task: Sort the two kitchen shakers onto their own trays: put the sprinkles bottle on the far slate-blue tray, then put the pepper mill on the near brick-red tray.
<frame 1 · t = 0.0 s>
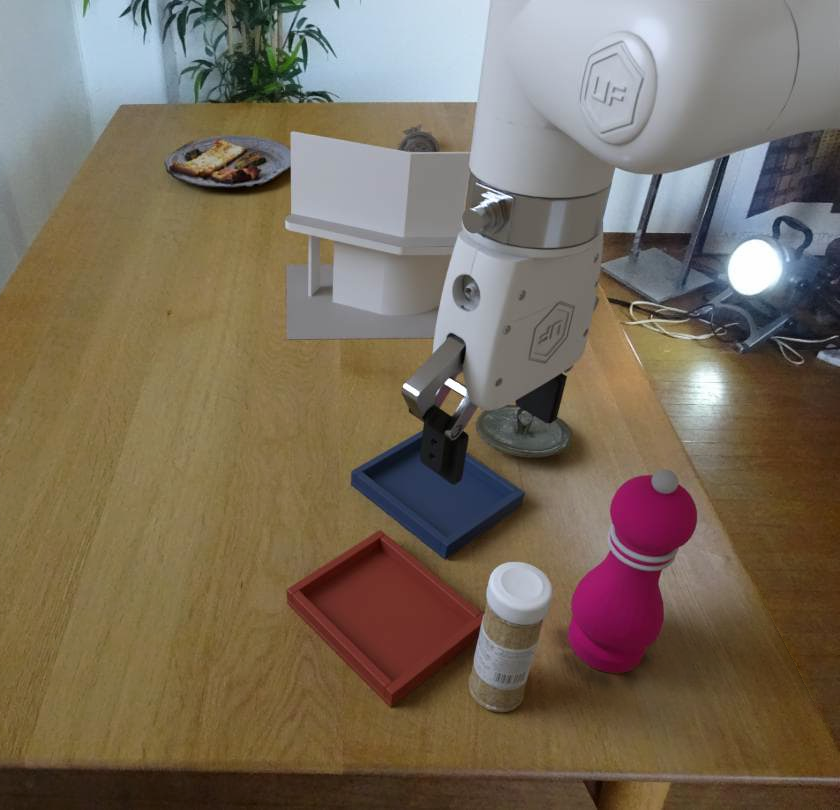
hand: (489, 441, 55), 24 cm above the table, tool pointing down, fingers open, 9 cm apart
blue tray: (435, 495, 85), on the table
sprinkles bottle: (494, 691, 67), on the table
red tray: (384, 617, 72), on the table
food plate: (230, 171, 156), on the table
pepper mill: (604, 644, 70), on the table
lid: (520, 442, 92), on the table
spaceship: (416, 174, 154), on the table
architectural model: (382, 299, 117), on the table
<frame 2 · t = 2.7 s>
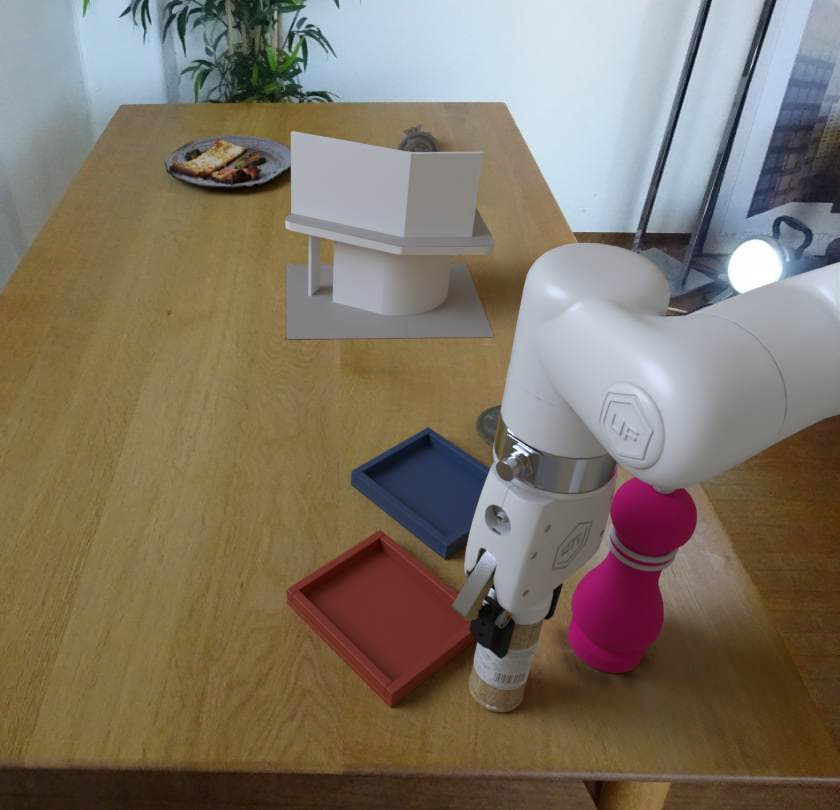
hand: (511, 623, 61), 9 cm above the table, tool pointing down, fingers closed on sprinkles bottle, 4 cm apart
sprinkles bottle: (494, 691, 67), on the table, touching gripper
everything else where it was.
when the fingers open (9 cm above the table, at t = 9.5 s): sprinkles bottle stays where it is, resting on blue tray.
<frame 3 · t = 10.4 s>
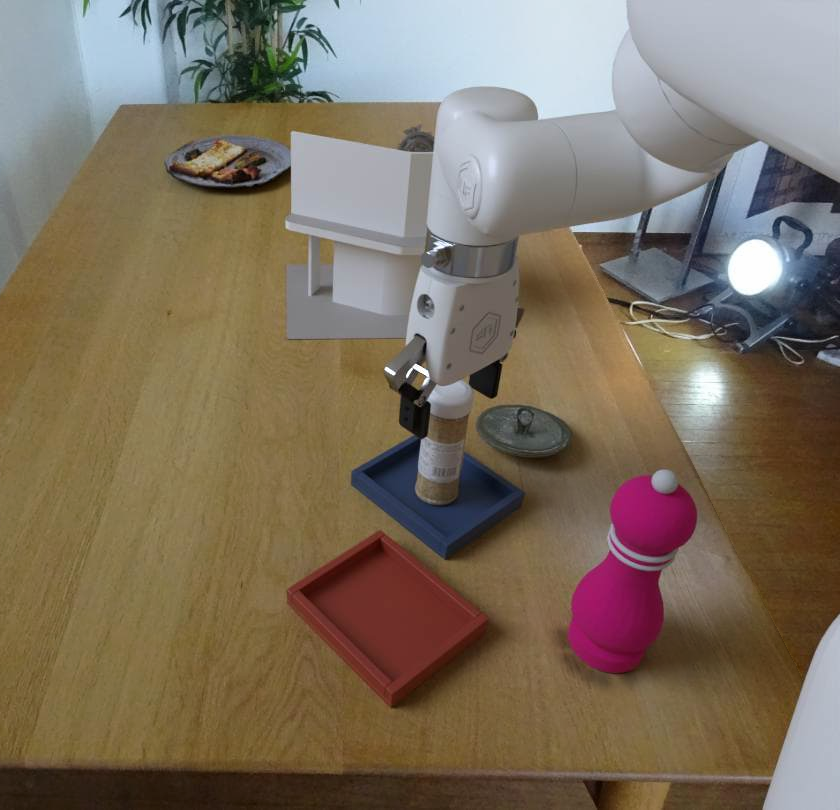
hand: (448, 410, 77), 12 cm above the table, tool pointing down, fingers open, 9 cm apart
sprinkles bottle: (435, 493, 84), resting on blue tray
everything else where it was.
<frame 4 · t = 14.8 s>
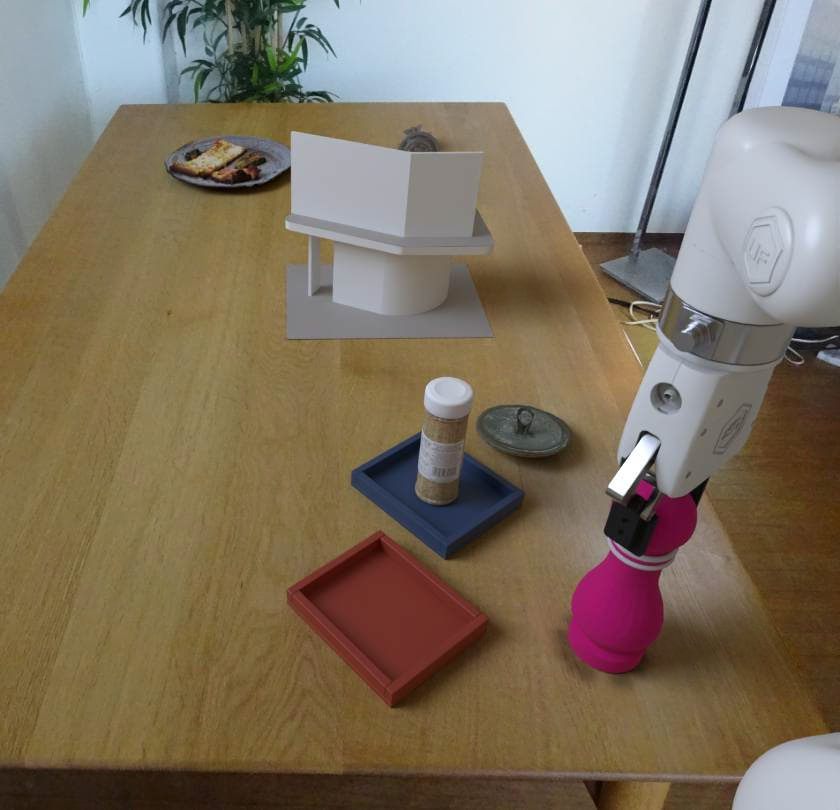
hand: (649, 521, 61), 15 cm above the table, tool pointing down, fingers closed on pepper mill, 6 cm apart
pepper mill: (603, 644, 70), on the table, touching gripper
everything else where it was.
when the fingers open (15 cm above the table, at t = 21.7 s): pepper mill stays where it is, resting on red tray.
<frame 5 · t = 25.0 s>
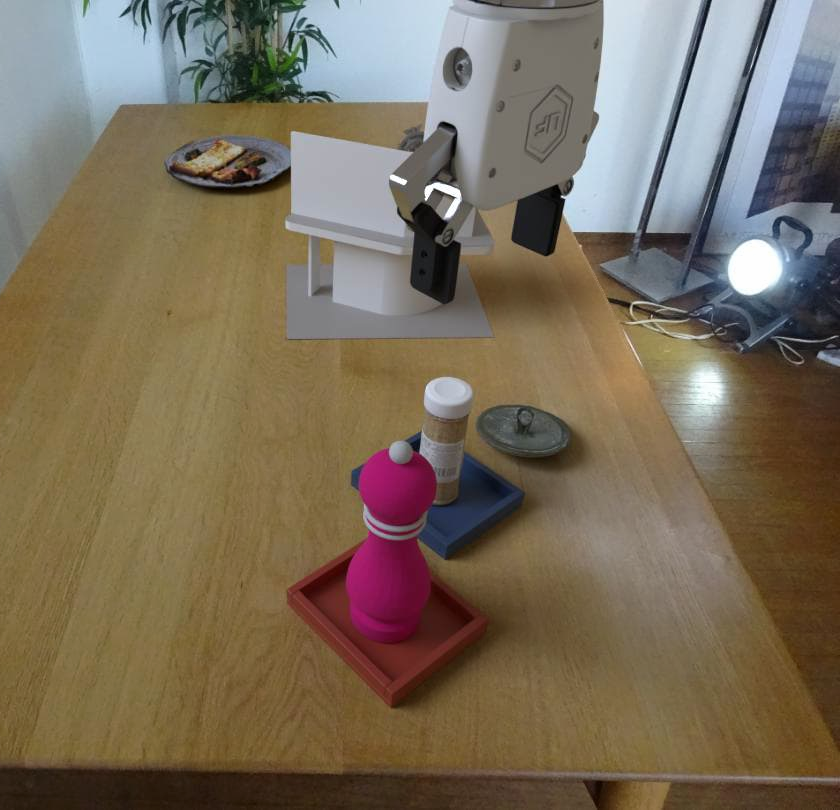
hand: (483, 270, 52), 34 cm above the table, tool pointing down, fingers open, 9 cm apart
pepper mill: (384, 616, 72), resting on red tray
everything else where it was.
at the end: sprinkles bottle inside the target area in the blue tray (0.1 cm from its centre), point 0.3 cm above the blue tray's base; pepper mill inside the target area in the red tray (0.0 cm from its centre), point 0.3 cm above the red tray's base; pepper mill tilted 0° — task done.
